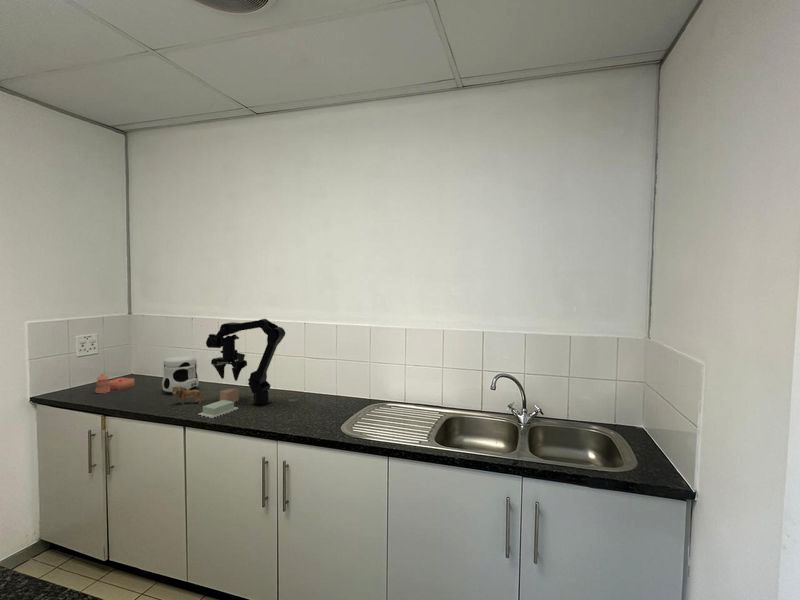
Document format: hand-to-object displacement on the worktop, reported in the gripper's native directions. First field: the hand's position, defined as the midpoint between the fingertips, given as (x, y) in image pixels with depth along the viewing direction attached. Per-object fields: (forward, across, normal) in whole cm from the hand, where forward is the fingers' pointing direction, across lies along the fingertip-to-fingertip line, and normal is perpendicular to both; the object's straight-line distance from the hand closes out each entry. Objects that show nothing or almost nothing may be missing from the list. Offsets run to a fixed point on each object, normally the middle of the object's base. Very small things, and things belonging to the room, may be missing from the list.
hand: (229, 379), depth 194 cm
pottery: (+11, +74, +13) cm, 76 cm away
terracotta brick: (+11, 0, 0) cm, 11 cm away
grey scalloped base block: (+11, -8, +13) cm, 19 cm away
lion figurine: (+11, +16, +11) cm, 22 cm away
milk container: (+11, +39, -2) cm, 41 cm away
